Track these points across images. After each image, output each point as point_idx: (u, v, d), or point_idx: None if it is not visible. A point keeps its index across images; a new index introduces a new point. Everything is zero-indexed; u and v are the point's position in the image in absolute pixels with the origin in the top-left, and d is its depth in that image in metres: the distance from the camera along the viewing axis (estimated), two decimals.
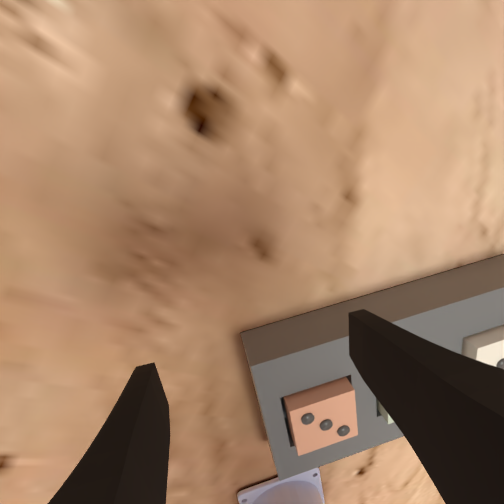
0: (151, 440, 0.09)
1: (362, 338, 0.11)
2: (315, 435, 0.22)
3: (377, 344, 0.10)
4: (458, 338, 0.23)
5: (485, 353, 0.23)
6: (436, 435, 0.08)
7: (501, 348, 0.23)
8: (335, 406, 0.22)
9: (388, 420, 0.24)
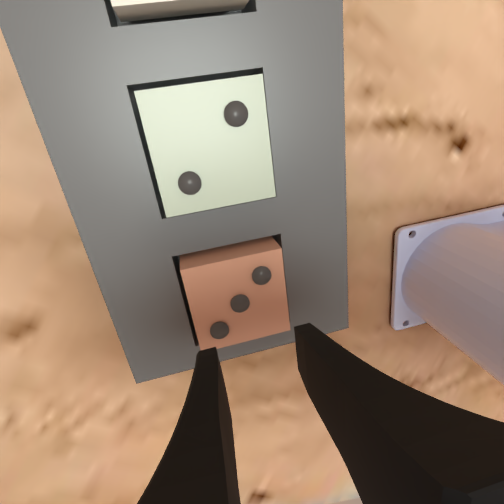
0: (225, 418, 0.09)
1: (304, 354, 0.11)
2: (258, 313, 0.16)
3: (315, 361, 0.10)
4: (113, 40, 0.11)
5: None
6: (361, 459, 0.08)
7: None
8: (207, 294, 0.15)
9: (267, 197, 0.14)
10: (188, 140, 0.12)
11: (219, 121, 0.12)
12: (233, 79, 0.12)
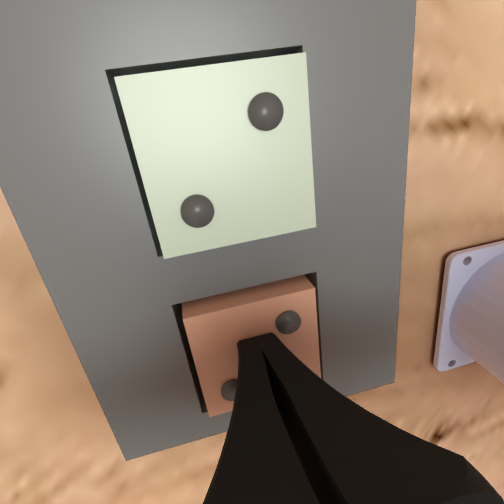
0: None
1: None
2: None
3: (271, 373, 0.10)
4: (83, 0, 0.07)
5: None
6: (308, 477, 0.08)
7: None
8: (218, 348, 0.11)
9: (304, 227, 0.10)
10: (195, 150, 0.08)
11: (241, 122, 0.08)
12: (263, 60, 0.08)
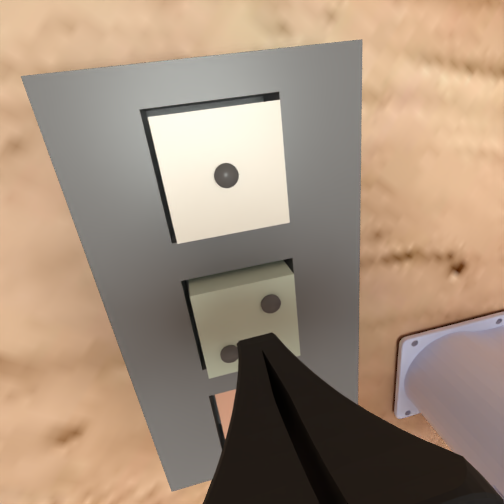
0: None
1: None
2: None
3: (271, 373, 0.10)
4: (172, 252, 0.14)
5: (192, 223, 0.12)
6: (308, 477, 0.08)
7: (187, 189, 0.12)
8: None
9: None
10: (230, 324, 0.14)
11: (257, 309, 0.14)
12: (270, 280, 0.14)
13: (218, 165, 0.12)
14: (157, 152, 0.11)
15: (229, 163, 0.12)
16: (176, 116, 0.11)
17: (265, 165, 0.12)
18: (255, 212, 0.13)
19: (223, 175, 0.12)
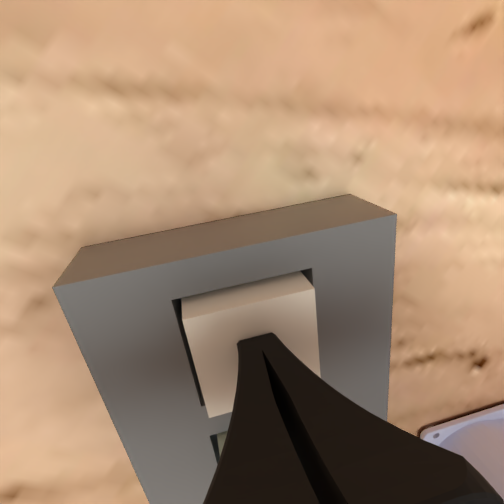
0: None
1: None
2: None
3: (271, 373, 0.10)
4: (201, 413, 0.13)
5: (224, 399, 0.12)
6: (308, 477, 0.08)
7: (219, 372, 0.12)
8: None
9: None
10: None
11: None
12: None
13: None
14: (191, 347, 0.11)
15: None
16: (210, 315, 0.11)
17: (298, 342, 0.12)
18: None
19: None
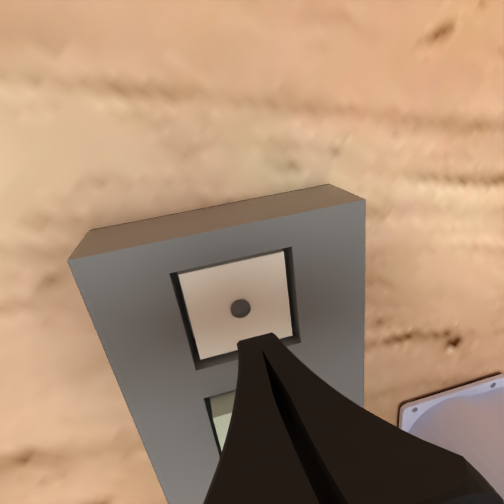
0: None
1: None
2: None
3: (271, 373, 0.10)
4: (196, 377, 0.15)
5: (213, 343, 0.15)
6: (308, 477, 0.08)
7: (208, 320, 0.15)
8: None
9: None
10: None
11: None
12: None
13: (234, 302, 0.14)
14: (185, 297, 0.14)
15: (243, 298, 0.15)
16: (200, 271, 0.14)
17: (272, 297, 0.15)
18: (263, 331, 0.15)
19: (238, 308, 0.14)
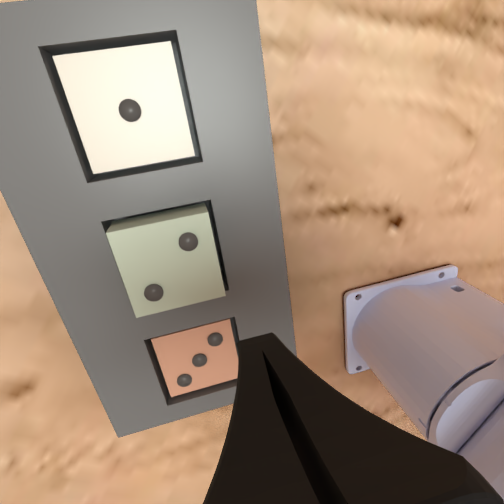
0: None
1: None
2: (214, 366, 0.20)
3: (271, 373, 0.10)
4: (89, 191, 0.14)
5: (105, 154, 0.14)
6: (308, 477, 0.08)
7: (96, 122, 0.14)
8: (173, 355, 0.19)
9: (218, 296, 0.17)
10: (151, 262, 0.15)
11: (175, 247, 0.15)
12: (184, 218, 0.15)
13: (121, 101, 0.14)
14: (65, 88, 0.13)
15: (132, 99, 0.14)
16: (78, 55, 0.13)
17: (165, 101, 0.14)
18: (161, 145, 0.15)
19: (127, 109, 0.14)
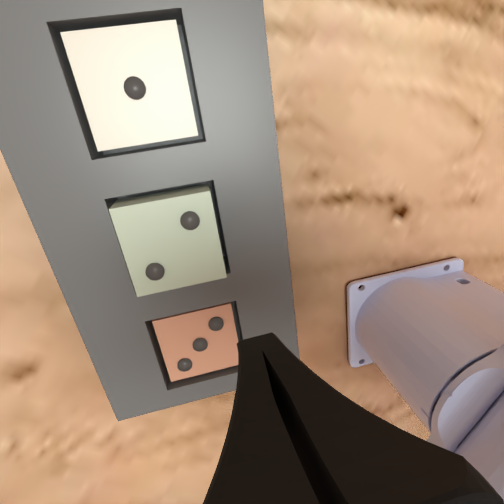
0: None
1: None
2: (215, 351, 0.20)
3: (271, 373, 0.10)
4: (93, 168, 0.15)
5: (109, 132, 0.14)
6: (308, 477, 0.08)
7: (101, 100, 0.14)
8: (174, 338, 0.19)
9: (219, 278, 0.17)
10: (152, 240, 0.15)
11: (177, 226, 0.15)
12: (186, 196, 0.15)
13: (126, 78, 0.14)
14: (71, 64, 0.13)
15: (137, 77, 0.14)
16: (85, 32, 0.13)
17: (169, 80, 0.14)
18: (165, 124, 0.15)
19: (132, 86, 0.14)
